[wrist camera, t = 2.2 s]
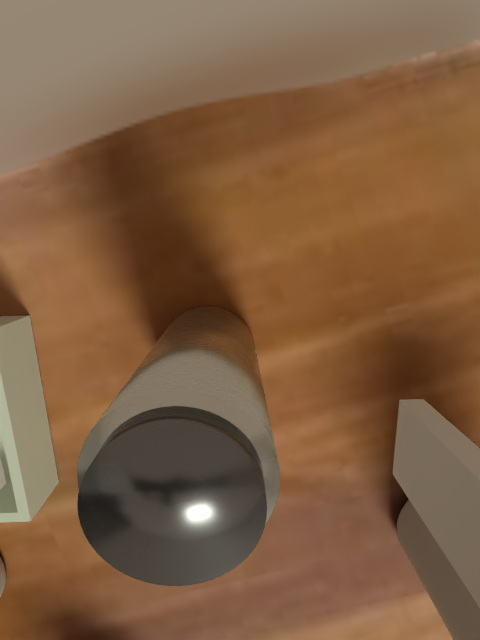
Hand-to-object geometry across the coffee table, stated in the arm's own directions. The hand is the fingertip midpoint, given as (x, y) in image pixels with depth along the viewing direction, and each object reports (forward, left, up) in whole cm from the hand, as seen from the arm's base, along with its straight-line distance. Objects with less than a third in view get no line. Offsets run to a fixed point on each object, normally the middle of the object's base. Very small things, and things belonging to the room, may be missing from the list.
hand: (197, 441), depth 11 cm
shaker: (0, 0, -9) cm, 9 cm away
